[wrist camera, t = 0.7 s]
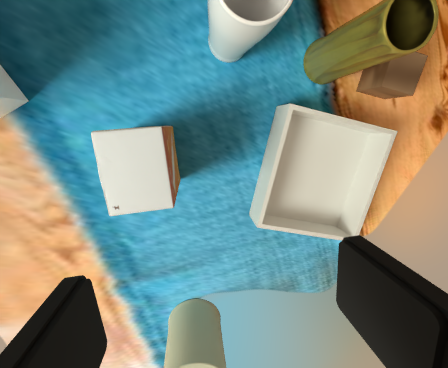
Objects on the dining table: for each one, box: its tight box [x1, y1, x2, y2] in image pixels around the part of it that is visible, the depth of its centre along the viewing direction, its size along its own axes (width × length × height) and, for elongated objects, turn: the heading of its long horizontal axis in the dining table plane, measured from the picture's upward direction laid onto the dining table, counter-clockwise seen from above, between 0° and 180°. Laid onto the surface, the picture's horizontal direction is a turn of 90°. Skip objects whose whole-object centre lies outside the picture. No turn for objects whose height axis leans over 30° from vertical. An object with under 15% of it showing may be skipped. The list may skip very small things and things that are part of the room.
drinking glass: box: [208, 0, 293, 63], centre depth 24 cm, size 7×7×15 cm
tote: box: [249, 104, 398, 240], centre depth 35 cm, size 17×16×5 cm
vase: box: [304, 0, 439, 84], centre depth 27 cm, size 6×6×14 cm
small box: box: [91, 126, 180, 216], centre depth 28 cm, size 8×6×13 cm
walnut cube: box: [357, 52, 428, 99], centre depth 33 cm, size 5×5×5 cm
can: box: [164, 299, 226, 368], centre depth 36 cm, size 9×9×12 cm
